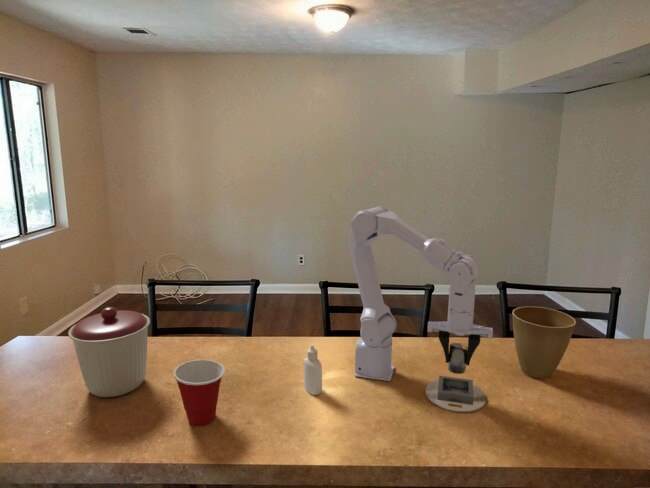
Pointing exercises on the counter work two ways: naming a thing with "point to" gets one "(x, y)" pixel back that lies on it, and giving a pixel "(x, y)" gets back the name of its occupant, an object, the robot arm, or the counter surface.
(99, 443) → the counter surface
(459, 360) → the shaft
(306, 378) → the eye dropper bottle
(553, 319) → the plant pot
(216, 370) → the plastic cup
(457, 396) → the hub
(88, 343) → the canister
